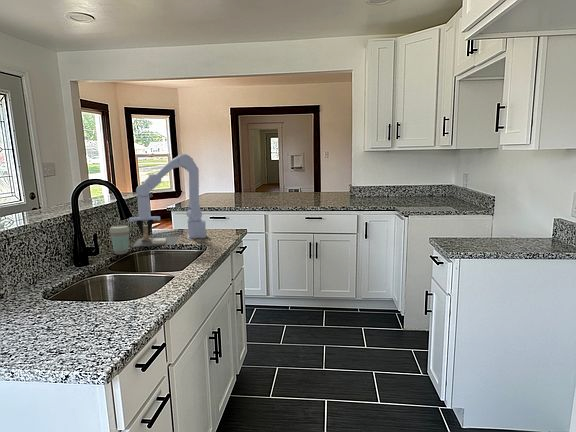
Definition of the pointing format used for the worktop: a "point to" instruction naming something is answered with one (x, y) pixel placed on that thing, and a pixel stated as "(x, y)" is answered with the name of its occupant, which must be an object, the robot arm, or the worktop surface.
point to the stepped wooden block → (145, 234)
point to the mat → (169, 242)
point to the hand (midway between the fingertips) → (146, 235)
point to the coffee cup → (120, 238)
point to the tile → (159, 241)
